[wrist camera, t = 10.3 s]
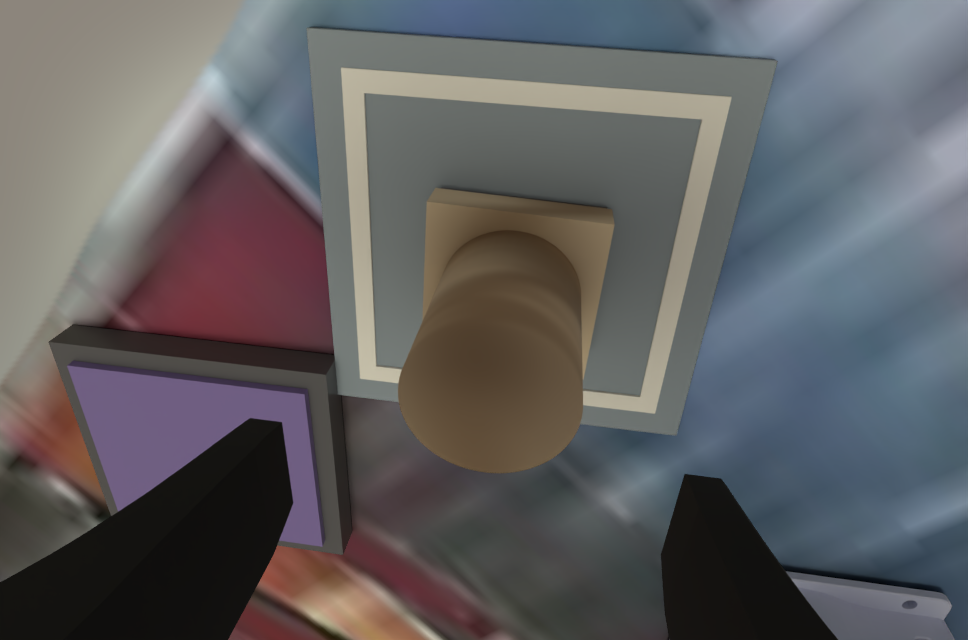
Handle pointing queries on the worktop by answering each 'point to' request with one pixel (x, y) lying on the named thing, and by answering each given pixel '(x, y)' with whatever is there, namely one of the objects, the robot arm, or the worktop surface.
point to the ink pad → (207, 417)
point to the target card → (534, 189)
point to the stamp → (504, 327)
